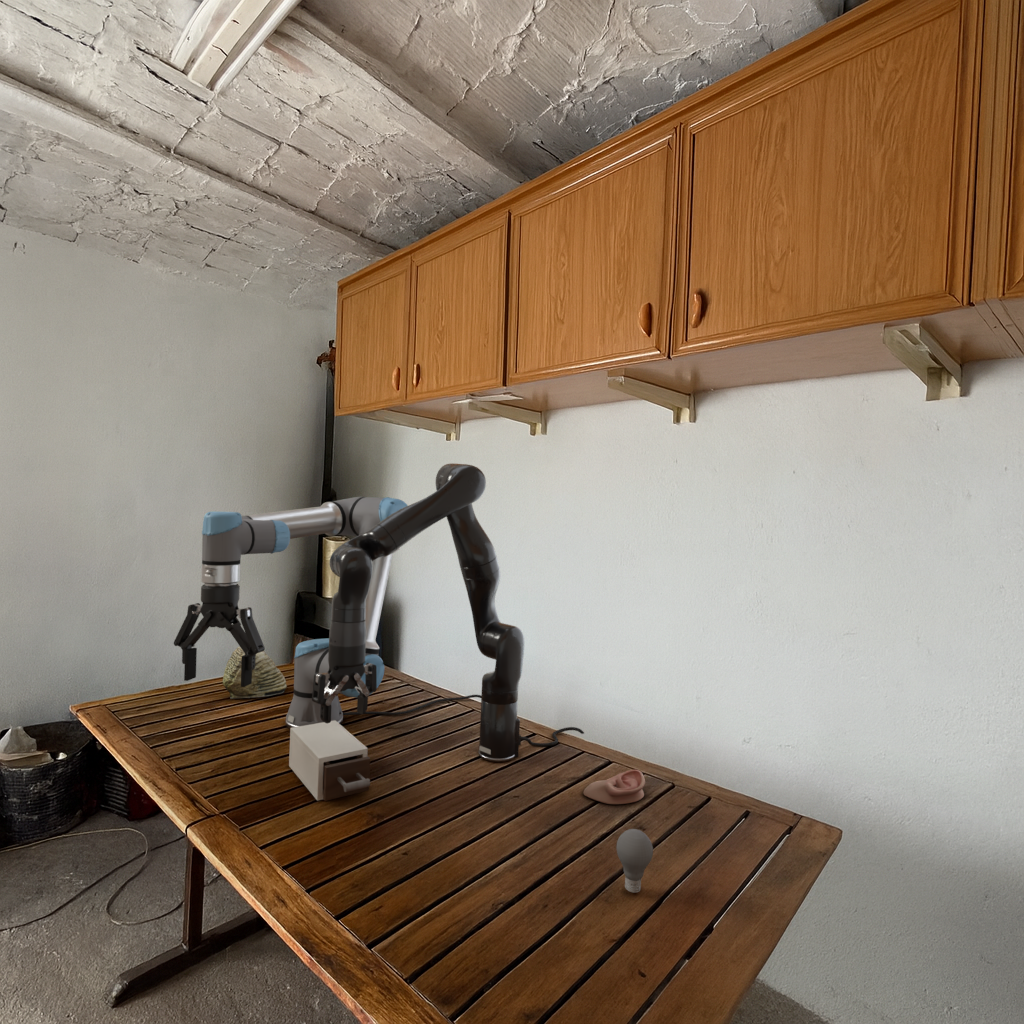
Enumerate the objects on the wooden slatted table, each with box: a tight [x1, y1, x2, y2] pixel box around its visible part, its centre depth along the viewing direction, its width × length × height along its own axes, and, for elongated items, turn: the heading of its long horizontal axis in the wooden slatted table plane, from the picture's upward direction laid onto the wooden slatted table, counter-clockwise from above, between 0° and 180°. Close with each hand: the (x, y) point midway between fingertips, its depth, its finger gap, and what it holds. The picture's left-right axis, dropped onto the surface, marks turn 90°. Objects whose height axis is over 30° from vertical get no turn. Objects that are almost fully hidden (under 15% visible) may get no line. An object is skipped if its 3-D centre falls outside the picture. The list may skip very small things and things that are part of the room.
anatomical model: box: [582, 769, 646, 805], centre depth 141 cm, size 13×4×12 cm
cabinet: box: [288, 720, 369, 802], centre depth 143 cm, size 20×11×9 cm, turn 36°
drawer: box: [323, 755, 371, 802], centre depth 138 cm, size 24×10×7 cm, turn 36°
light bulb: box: [615, 828, 654, 894], centre depth 106 cm, size 6×6×10 cm
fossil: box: [222, 646, 288, 699], centre depth 198 cm, size 9×18×15 cm, turn 132°
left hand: (217, 682), depth 136 cm, fingers open, 13 cm apart
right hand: (344, 717), depth 133 cm, fingers open, 8 cm apart
